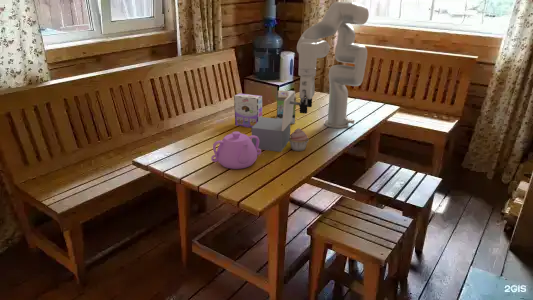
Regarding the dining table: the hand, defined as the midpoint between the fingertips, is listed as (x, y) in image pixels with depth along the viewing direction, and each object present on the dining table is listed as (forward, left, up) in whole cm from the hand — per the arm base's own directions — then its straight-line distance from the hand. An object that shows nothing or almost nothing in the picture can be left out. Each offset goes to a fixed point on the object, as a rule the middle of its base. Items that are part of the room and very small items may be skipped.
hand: (305, 109), depth 185 cm
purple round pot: (+22, +27, -18) cm, 39 cm away
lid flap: (+8, 0, -1) cm, 8 cm away
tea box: (+19, -37, -19) cm, 45 cm away
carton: (+16, 0, -18) cm, 24 cm away
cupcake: (+2, +2, -18) cm, 19 cm away
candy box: (+35, -21, -18) cm, 45 cm away
